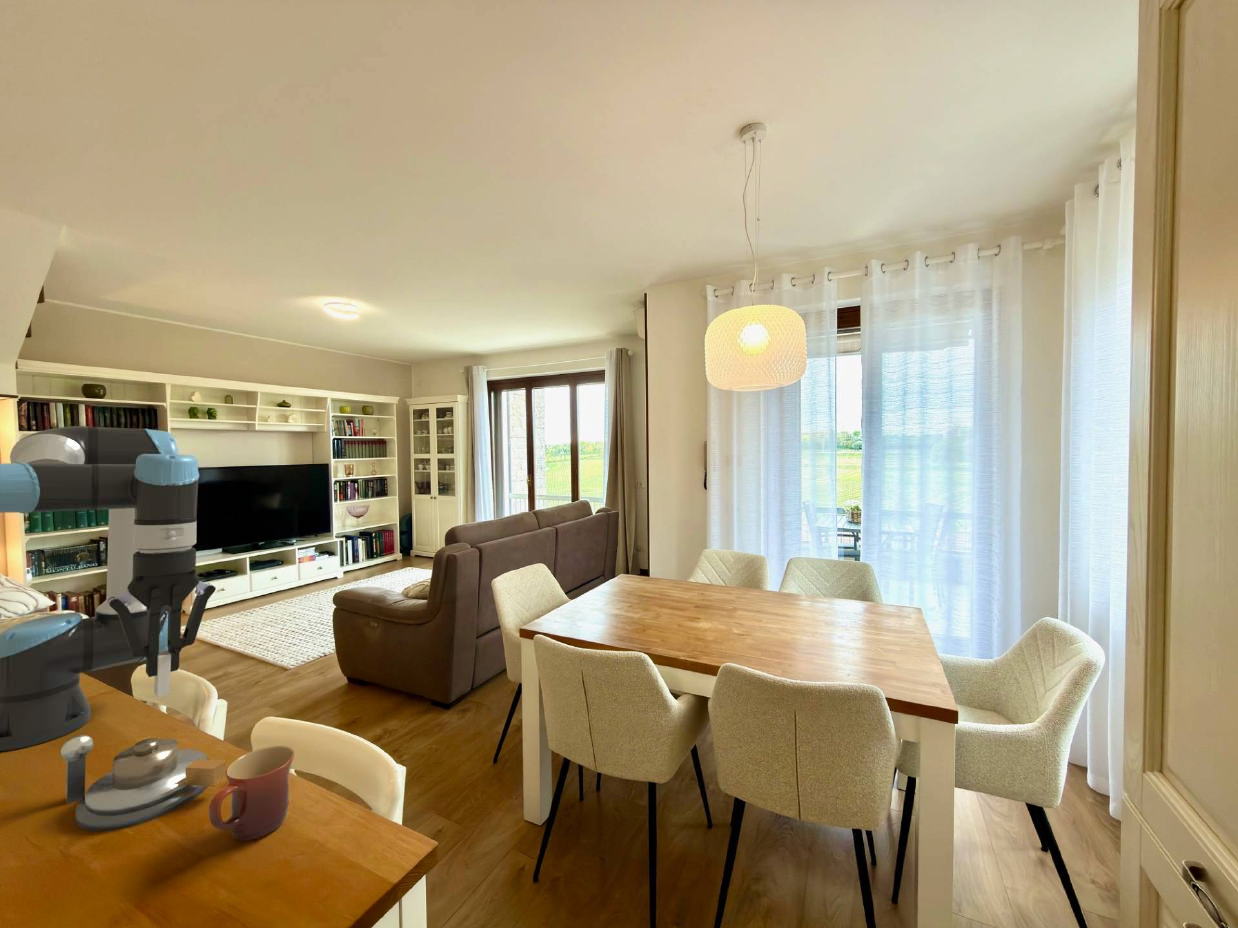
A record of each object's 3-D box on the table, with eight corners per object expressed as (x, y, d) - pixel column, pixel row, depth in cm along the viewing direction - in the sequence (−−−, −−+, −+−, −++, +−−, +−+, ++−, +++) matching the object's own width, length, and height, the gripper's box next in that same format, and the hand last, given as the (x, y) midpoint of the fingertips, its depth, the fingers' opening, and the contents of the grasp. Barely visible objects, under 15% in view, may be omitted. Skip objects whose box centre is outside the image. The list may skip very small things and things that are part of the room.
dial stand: (58, 801, 81) (60, 736, 81) (90, 790, 84) (91, 728, 84) (59, 808, 79) (61, 743, 79) (92, 797, 82) (93, 733, 82)
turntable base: (70, 798, 82) (70, 789, 82) (200, 752, 95) (200, 745, 95) (80, 848, 71) (81, 838, 71) (225, 789, 85) (225, 780, 85)
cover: (97, 788, 80) (98, 755, 80) (146, 759, 88) (147, 729, 88) (144, 790, 79) (145, 757, 79) (189, 761, 87) (190, 730, 87)
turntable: (55, 812, 76) (56, 788, 76) (151, 755, 91) (151, 735, 91) (178, 818, 75) (178, 793, 75) (254, 760, 90) (254, 739, 90)
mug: (262, 802, 82) (263, 742, 82) (306, 811, 80) (307, 749, 80) (185, 859, 70) (187, 788, 70) (235, 870, 68) (237, 797, 68)
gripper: (111, 557, 71) (107, 716, 71) (222, 546, 82) (219, 686, 82) (104, 550, 76) (100, 700, 76) (210, 541, 86) (207, 673, 86)
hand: (162, 692), depth 79 cm, fingers closed
